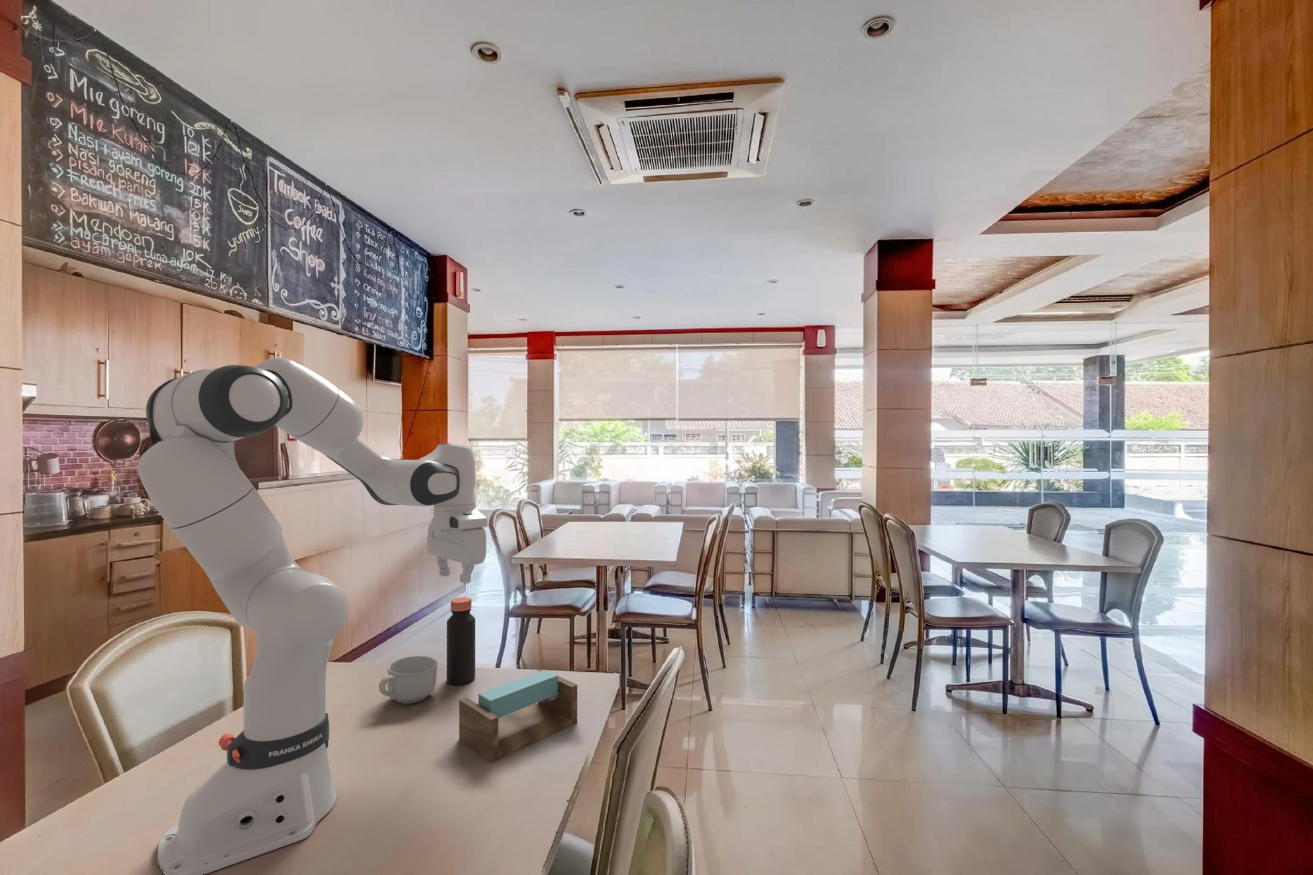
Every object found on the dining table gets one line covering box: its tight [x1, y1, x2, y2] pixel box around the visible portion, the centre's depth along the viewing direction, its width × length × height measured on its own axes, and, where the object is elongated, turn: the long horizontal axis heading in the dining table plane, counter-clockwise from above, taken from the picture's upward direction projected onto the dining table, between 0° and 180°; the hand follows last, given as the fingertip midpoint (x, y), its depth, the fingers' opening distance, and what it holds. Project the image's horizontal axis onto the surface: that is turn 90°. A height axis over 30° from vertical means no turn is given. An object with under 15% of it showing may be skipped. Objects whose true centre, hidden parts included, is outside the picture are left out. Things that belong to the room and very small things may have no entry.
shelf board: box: [477, 669, 559, 719], centre depth 116 cm, size 16×4×4 cm, turn 137°
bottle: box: [446, 596, 476, 686], centre depth 140 cm, size 7×7×20 cm
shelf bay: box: [458, 668, 578, 764], centre depth 116 cm, size 20×12×8 cm, turn 137°
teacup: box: [378, 655, 439, 705], centre depth 129 cm, size 14×11×8 cm
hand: (454, 579), depth 124 cm, fingers open, 8 cm apart
